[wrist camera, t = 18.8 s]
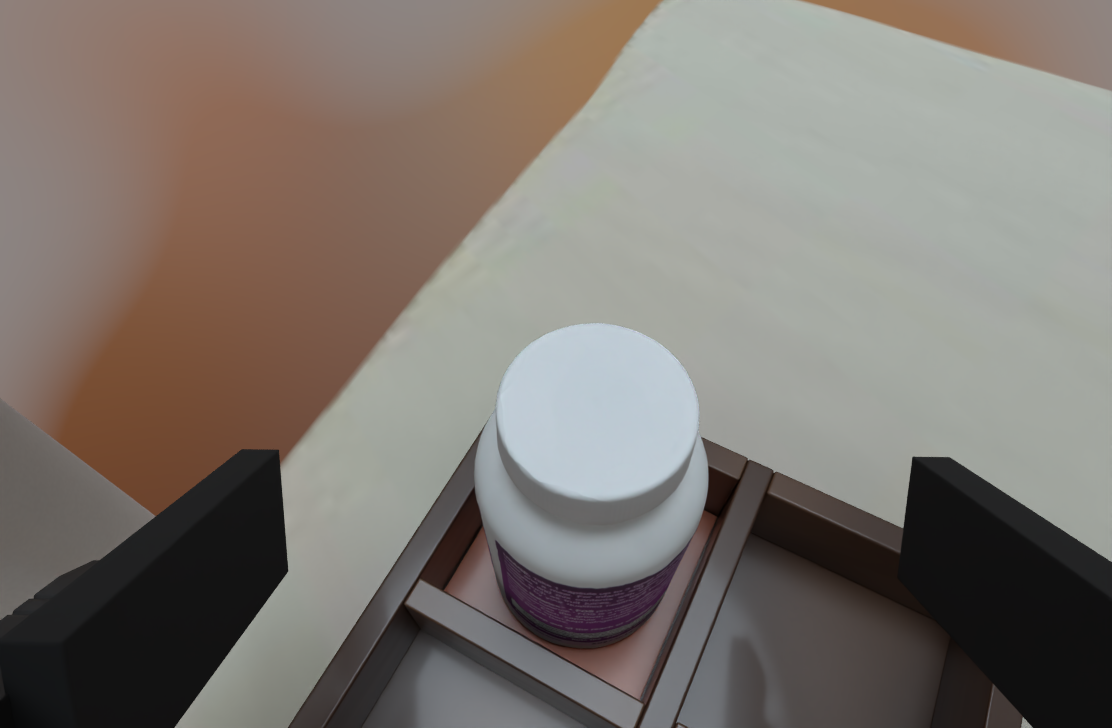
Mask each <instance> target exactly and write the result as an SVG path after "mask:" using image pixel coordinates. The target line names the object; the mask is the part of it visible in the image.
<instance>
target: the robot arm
mask: <svg viewBox="0 0 1112 728" xmlns="http://www.w3.org/2000/svg"><path fill="white" fill-rule="evenodd" d="M287 572H288V561H287V549H286V536H285V523H284V510H283V497H282V485H281V472H280V460H279V450H251V449H248V450H247V449H242V450H240V451H239V452H238V453H237V454H235V455H234V456H233V457H231V458H230V459H229V460H228V461H226V462H225V463H224V464H223V465H221V466H220V467H219V468H217V469H216V470H215V471H213V472H212V473H211V474H210V475H208V476H207V477H206V478H205V479H203V480H202V481H201V482H199V483H198V484H197V485H196V486H195V487H193V488H192V489H190V490H189V491H188V492H187V493H185V494H184V495H183V496H182V497H180V498H179V499H178V500H176V501H175V502H174V503H173V504H171V505H170V506H169V507H168V508H166V509H165V510H164V511H162V512H161V513H160V514H159V515H157V516H156V517H155V518H153V519H152V520H151V521H149V522H148V523H147V524H146V525H144V526H143V527H142V528H141V529H139V530H138V531H137V532H135V533H134V534H133V535H132V536H130V537H129V538H128V539H126V540H125V541H124V542H123V543H121V544H120V545H119V546H118V547H116V548H115V549H114V550H112V551H111V552H110V553H109V554H107V555H106V556H105V557H103V558H102V559H101V560H100V561H96V560H93V561H91V562H89V563H87V564H85V565H83V566H80V567H78V568H76V569H74V570H72V571H70V572H68V573H65V574H63V575H61V576H59V577H58V578H56V579H55V580H54V581H52V582H51V583H50V584H48V585H47V586H46V587H44V588H43V589H42V590H40V591H39V592H38V593H36V594H35V595H34V599H28V600H27V601H26V602H24V603H23V604H22V605H20V606H19V607H18V608H16V609H15V610H14V611H13V614H12V615H7V616H6V617H4V618H3V619H2V620H0V728H174V727H175V726H176V724H177V723H178V722H179V720H180V719H181V718H182V716H183V715H184V714H185V712H186V711H187V709H188V708H189V707H190V705H191V704H192V703H193V701H194V700H195V698H196V697H197V696H198V694H199V693H200V692H201V690H202V689H203V687H204V686H205V685H206V683H207V682H208V681H209V679H210V678H211V676H212V675H213V674H214V672H215V671H216V670H217V668H218V667H219V666H220V664H221V663H222V661H223V660H224V659H225V657H226V656H227V655H228V653H229V652H230V650H231V649H232V648H233V646H234V645H235V644H236V642H237V641H238V639H239V638H240V637H241V635H242V634H243V633H244V631H245V630H246V629H247V627H248V626H249V624H250V623H251V622H252V620H253V619H254V618H255V616H256V615H257V613H258V612H259V611H260V609H261V608H262V607H263V605H264V604H265V602H266V601H267V600H268V598H269V597H270V596H271V594H272V593H273V592H274V590H275V589H276V587H277V586H278V585H279V583H280V582H281V581H282V579H283V578H284V576H285V575H286V574H287ZM897 578H898V579H899V581H900V582H901V583H902V584H903V585H904V586H905V587H906V588H907V589H908V590H909V592H910V593H911V594H912V595H913V596H914V597H915V598H916V599H917V600H918V601H919V603H920V604H921V605H922V606H923V607H924V608H925V609H926V610H927V611H928V613H929V614H930V615H931V616H932V617H933V618H934V619H935V620H936V621H937V622H938V624H939V625H940V626H941V627H942V628H943V629H944V630H945V631H946V632H947V633H948V635H949V636H950V637H951V638H952V639H953V640H954V641H955V642H956V643H957V644H958V646H959V647H960V648H961V649H962V650H963V651H964V652H965V653H966V654H967V655H968V657H969V658H970V659H971V660H972V661H973V662H974V663H975V664H976V665H977V666H978V668H979V669H980V670H981V671H982V672H983V673H984V674H985V675H986V676H987V677H988V679H989V680H990V681H991V682H992V683H993V684H994V685H995V686H996V687H997V689H998V690H999V691H1000V692H1001V693H1002V694H1003V695H1004V696H1005V697H1006V698H1007V700H1008V701H1009V702H1010V703H1011V704H1012V705H1013V706H1014V707H1015V708H1016V709H1017V711H1018V712H1019V713H1020V714H1021V715H1022V716H1023V717H1024V718H1025V719H1026V720H1027V722H1028V723H1029V724H1030V725H1031V726H1032V727H1033V728H1112V562H1111V561H1109V560H1107V559H1106V558H1104V557H1103V556H1101V555H1100V554H1098V553H1097V552H1095V551H1094V550H1092V549H1090V548H1089V547H1087V546H1086V545H1084V544H1083V543H1081V542H1080V541H1078V540H1077V539H1075V538H1073V537H1072V536H1070V535H1069V534H1067V533H1066V532H1064V531H1063V530H1061V529H1060V528H1058V527H1056V526H1055V525H1053V524H1052V523H1050V522H1049V521H1047V520H1046V519H1044V518H1043V517H1041V516H1039V515H1038V514H1036V513H1035V512H1033V511H1032V510H1030V509H1029V508H1027V507H1026V506H1024V505H1022V504H1021V503H1019V502H1018V501H1016V500H1015V499H1013V498H1012V497H1010V496H1009V495H1007V494H1005V493H1004V492H1002V491H1001V490H999V489H998V488H996V487H995V486H993V485H992V484H990V483H988V482H987V481H985V480H984V479H982V478H981V477H979V476H978V475H976V474H975V473H973V472H971V471H970V470H968V469H967V468H965V467H964V466H962V465H961V464H959V463H958V462H956V461H954V460H953V459H951V458H950V457H913V458H912V466H911V474H910V481H909V489H908V497H907V505H906V513H905V520H904V528H903V536H902V544H901V552H900V559H899V567H898V575H897Z"/></svg>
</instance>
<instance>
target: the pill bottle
mask: <svg viewBox="0 0 1112 728" xmlns="http://www.w3.org/2000/svg"><path fill="white" fill-rule="evenodd" d="M699 418H700V413H699V403H698V398H697V394H696V391H695V388H694V386H693V383H692V381H691V379H690V377H689V375H688V373H687V372H686V370H685V369H684V367H683V365H682V364H681V363H680V362H679V361H678V359H677V358H676V357H675V356H674V355H673V354H672V353H671V352H670V351H669V350H668V349H666V348H665V347H664V346H662V345H661V344H660V343H658V342H657V341H655V340H654V339H652V338H650V337H648V336H646V335H644V334H642V333H640V332H638V331H635V330H632V329H628V328H625V327H622V326H617V325H611V324H603V323H588V324H577V325H572V326H567V327H564V328H561V329H558V330H555V331H552V332H549V333H547V334H545V335H543V336H541V337H539V338H538V339H536V340H535V341H533V342H532V343H530V344H529V345H528V346H527V347H525V348H524V349H523V350H522V351H521V352H520V353H519V354H518V355H517V357H516V358H515V359H514V360H513V362H512V363H511V364H510V366H509V367H508V369H507V371H506V372H505V374H504V376H503V378H502V381H501V384H500V387H499V390H498V394H497V399H496V408H495V410H494V412H493V413H492V415H491V416H490V418H489V420H488V422H487V423H486V425H485V427H484V429H483V432H482V434H481V437H480V440H479V444H478V448H477V452H476V458H475V470H474V481H475V493H476V499H477V503H478V506H479V511H480V515H481V518H482V523H483V527H484V531H485V535H486V539H487V543H488V547H489V551H490V556H491V561H492V564H493V567H494V571H495V576H496V579H497V584H498V587H499V589H500V592H501V594H502V596H503V599H504V601H505V603H506V604H507V606H508V607H509V609H510V610H511V612H512V613H513V614H514V616H515V617H516V618H517V619H518V620H519V621H520V622H521V623H522V624H523V625H524V626H525V627H526V628H528V629H529V630H530V631H531V632H533V633H534V634H535V635H537V636H539V637H541V638H542V639H544V640H547V641H549V642H552V643H554V644H558V645H562V646H567V647H572V648H598V647H603V646H606V645H610V644H613V643H616V642H618V641H620V640H622V639H624V638H626V637H627V636H629V635H631V634H632V633H634V632H635V631H636V630H637V629H639V628H640V627H641V626H642V625H643V624H644V623H645V622H646V621H647V620H648V619H649V618H650V617H651V616H652V614H653V613H654V612H655V610H656V609H657V607H658V605H659V604H660V602H661V600H662V598H663V596H664V594H665V592H666V590H667V589H668V586H669V584H670V582H671V580H672V578H673V576H674V574H675V572H676V570H677V567H678V565H679V563H680V561H681V560H682V558H683V556H684V553H685V552H686V550H687V548H688V546H689V544H690V541H691V539H692V537H693V535H694V534H695V532H696V530H697V528H698V525H699V522H700V520H701V517H702V514H703V510H704V506H705V503H706V498H707V492H708V462H707V456H706V452H705V448H704V445H703V442H702V439H701V436H700V434H699V432H698V430H699Z"/></svg>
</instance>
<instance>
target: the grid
mask: <svg viewBox="0 0 1112 728" xmlns="http://www.w3.org/2000/svg"><path fill="white" fill-rule="evenodd" d="M487 422H488V421H487ZM485 425H486V424H485ZM484 427H485V426H484ZM484 427H483V429H484ZM483 429H482V430H481V432H480V433H479V435H478V437H477V438H476V440H475V441H474V443H473V444H472V446H471V447H470V449H469V450H468V452H467V453H466V455H465V456H464V458H463V460H462V461H461V463H460V464H459V466H458V467H457V469H456V470H455V472H454V473H453V475H452V476H451V478H450V480H449V481H448V483H447V484H446V486H445V487H444V489H443V490H442V492H441V493H440V495H439V496H438V498H437V499H436V501H435V503H434V504H433V506H432V507H431V509H430V510H429V512H428V513H427V515H426V516H425V518H424V519H423V521H422V522H421V524H420V526H419V527H418V529H417V530H416V532H415V533H414V535H413V536H412V538H411V539H410V541H409V542H408V544H407V546H406V547H405V549H404V550H403V552H402V553H401V555H400V556H399V558H398V559H397V561H396V562H395V564H394V565H393V567H392V569H391V570H390V572H389V573H388V575H387V576H386V578H385V579H384V581H383V582H382V584H381V585H380V587H379V588H378V590H377V592H376V593H375V595H374V596H373V598H372V599H371V601H370V602H369V604H368V605H367V607H366V608H365V610H364V611H363V613H362V615H361V616H360V618H359V619H358V621H357V622H356V624H355V625H354V627H353V628H352V630H351V631H350V633H349V635H348V636H347V638H346V639H345V641H344V642H343V644H342V645H341V647H340V648H339V650H338V651H337V653H336V654H335V656H334V658H333V659H332V661H331V662H330V664H329V665H328V667H327V668H326V670H325V671H324V673H323V674H322V676H321V677H320V679H319V681H318V682H317V684H316V685H315V687H314V688H313V690H312V691H311V693H310V694H309V696H308V697H307V699H306V701H305V702H304V704H303V705H302V707H301V708H300V710H299V711H298V713H297V714H296V716H295V717H294V719H293V720H292V722H291V724H290V725H289V727H288V728H1021V724H1022V718H1023V716H1022V715H1021V714H1020V713H1019V712H1018V711H1017V709H1016V708H1015V707H1014V706H1013V705H1012V704H1011V703H1010V702H1009V701H1008V700H1007V698H1006V697H1005V696H1004V695H1003V694H1002V693H1001V692H1000V691H999V690H998V689H997V687H996V686H995V685H994V684H993V683H992V682H991V681H990V680H989V679H988V677H987V676H986V675H985V674H984V673H983V672H982V671H981V670H980V669H979V668H978V666H977V665H976V664H975V663H974V662H973V661H972V660H971V659H970V658H969V657H968V655H967V654H966V653H965V652H964V651H963V650H962V649H961V648H960V647H959V646H958V644H957V643H956V642H955V641H954V640H953V639H952V638H951V637H950V636H949V635H948V633H947V632H946V631H945V630H944V629H943V628H942V627H941V626H940V625H939V624H938V622H937V621H936V620H935V619H934V618H933V617H932V616H931V615H930V614H929V613H928V611H927V610H926V609H925V608H924V607H923V606H922V605H921V604H920V603H919V601H918V600H917V599H916V598H915V597H914V596H913V595H912V594H911V593H910V592H909V590H908V589H907V588H906V587H905V586H904V585H903V584H902V583H901V582H900V581H899V579H898V578H897V575H898V567H899V559H900V552H901V544H902V536H903V528H901V527H898V526H896V525H894V524H892V523H890V522H887V521H885V520H883V519H881V518H878V517H876V516H874V515H872V514H870V513H867V512H865V511H863V510H861V509H858V508H856V507H854V506H852V505H850V504H847V503H845V502H843V501H841V500H839V499H836V498H834V497H832V496H830V495H827V494H825V493H823V492H821V491H819V490H816V489H814V488H812V487H810V486H808V485H805V484H803V483H801V482H799V481H796V480H794V479H792V478H790V477H788V476H785V475H783V474H781V473H779V472H775V473H774V472H773V470H772V469H770V468H768V467H765V466H763V465H761V464H759V463H756V462H754V461H752V460H748V458H746V457H744V456H742V455H740V454H738V453H735V452H733V451H731V450H729V449H726V448H724V447H722V446H720V445H718V444H715V443H713V442H711V441H709V440H706V439H704V438H702V437H701V439H702V442H703V445H704V448H705V452H706V456H707V462H708V492H707V498H706V503H705V506H704V510H703V514H702V517H701V520H700V522H699V525H698V528H697V530H696V532H695V534H694V535H693V537H692V539H691V541H690V544H689V546H688V548H687V550H686V552H685V553H684V556H683V558H682V560H681V561H680V563H679V565H678V567H677V570H676V572H675V574H674V576H673V578H672V580H671V582H670V584H669V586H668V589H667V590H666V592H665V594H664V596H663V598H662V600H661V602H660V604H659V605H658V607H657V609H656V610H655V612H654V613H653V614H652V616H651V617H650V618H649V619H648V620H647V621H646V622H645V623H644V624H643V625H642V626H641V627H640V628H639V629H637V630H636V631H635V632H634V633H632V634H631V635H629V636H627V637H626V638H624V639H622V640H620V641H618V642H616V643H613V644H610V645H606V646H603V647H598V648H572V647H567V646H562V645H558V644H554V643H552V642H549V641H547V640H544V639H542V638H541V637H539V636H537V635H535V634H534V633H533V632H531V631H530V630H529V629H528V628H526V627H525V626H524V625H523V624H522V623H521V622H520V621H519V620H518V619H517V618H516V617H515V616H514V614H513V613H512V612H511V610H510V609H509V607H508V606H507V604H506V603H505V601H504V599H503V596H502V594H501V592H500V589H499V587H498V584H497V579H496V576H495V571H494V567H493V564H492V561H491V556H490V551H489V547H488V543H487V539H486V535H485V531H484V527H483V523H482V518H481V515H480V511H479V506H478V503H477V499H476V493H475V481H474V470H475V458H476V452H477V448H478V444H479V440H480V437H481V434H482V432H483Z"/></svg>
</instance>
